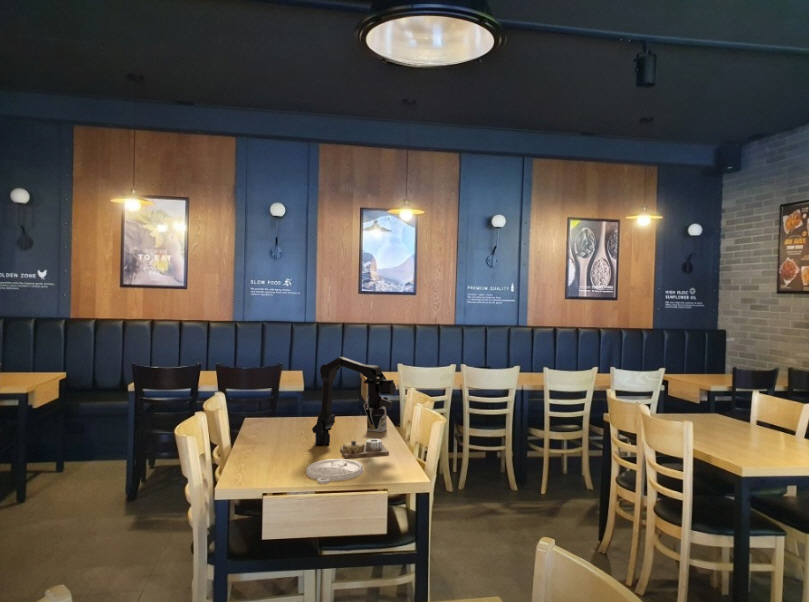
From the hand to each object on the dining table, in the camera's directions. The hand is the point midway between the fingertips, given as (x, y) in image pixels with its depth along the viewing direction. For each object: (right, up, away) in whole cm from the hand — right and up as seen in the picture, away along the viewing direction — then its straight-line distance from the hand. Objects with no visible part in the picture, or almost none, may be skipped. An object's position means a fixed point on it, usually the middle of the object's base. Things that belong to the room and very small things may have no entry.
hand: (374, 426), depth 265 cm
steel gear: (0, -10, 0) cm, 10 cm away
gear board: (-5, -12, -1) cm, 13 cm away
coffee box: (-1, -11, +42) cm, 43 cm away
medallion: (-15, -13, -31) cm, 37 cm away
